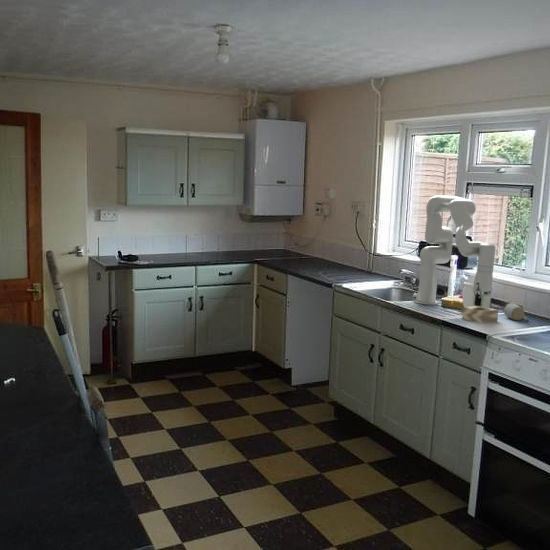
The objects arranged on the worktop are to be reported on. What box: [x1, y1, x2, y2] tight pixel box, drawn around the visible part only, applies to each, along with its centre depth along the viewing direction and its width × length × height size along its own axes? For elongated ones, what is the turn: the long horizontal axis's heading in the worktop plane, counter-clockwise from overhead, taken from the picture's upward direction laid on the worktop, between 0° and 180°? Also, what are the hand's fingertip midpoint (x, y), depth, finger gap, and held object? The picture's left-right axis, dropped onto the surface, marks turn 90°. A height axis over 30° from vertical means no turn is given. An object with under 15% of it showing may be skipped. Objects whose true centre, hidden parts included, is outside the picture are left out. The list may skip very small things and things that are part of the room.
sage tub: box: [472, 293, 492, 308], centre depth 309 cm, size 6×6×6 cm
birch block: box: [461, 306, 499, 324], centre depth 310 cm, size 12×12×6 cm
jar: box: [462, 281, 483, 307], centre depth 331 cm, size 11×10×15 cm
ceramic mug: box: [503, 302, 529, 321], centre depth 317 cm, size 11×8×8 cm
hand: (481, 304), depth 310 cm, fingers closed on sage tub, 6 cm apart
